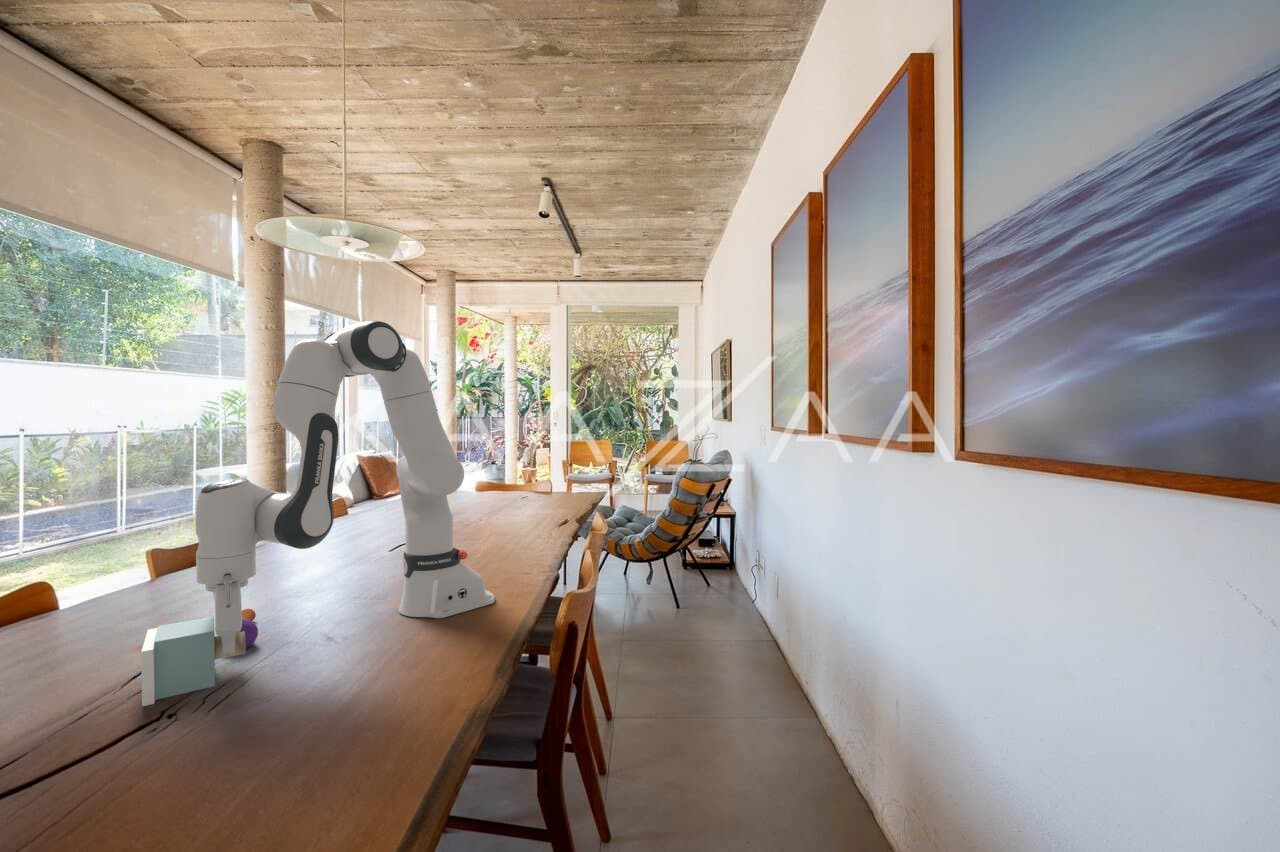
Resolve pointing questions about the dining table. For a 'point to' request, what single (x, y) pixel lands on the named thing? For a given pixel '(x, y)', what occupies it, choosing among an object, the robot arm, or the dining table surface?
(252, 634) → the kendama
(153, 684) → the slab
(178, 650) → the block
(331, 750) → the dining table surface
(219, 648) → the dowel
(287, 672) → the dining table surface
